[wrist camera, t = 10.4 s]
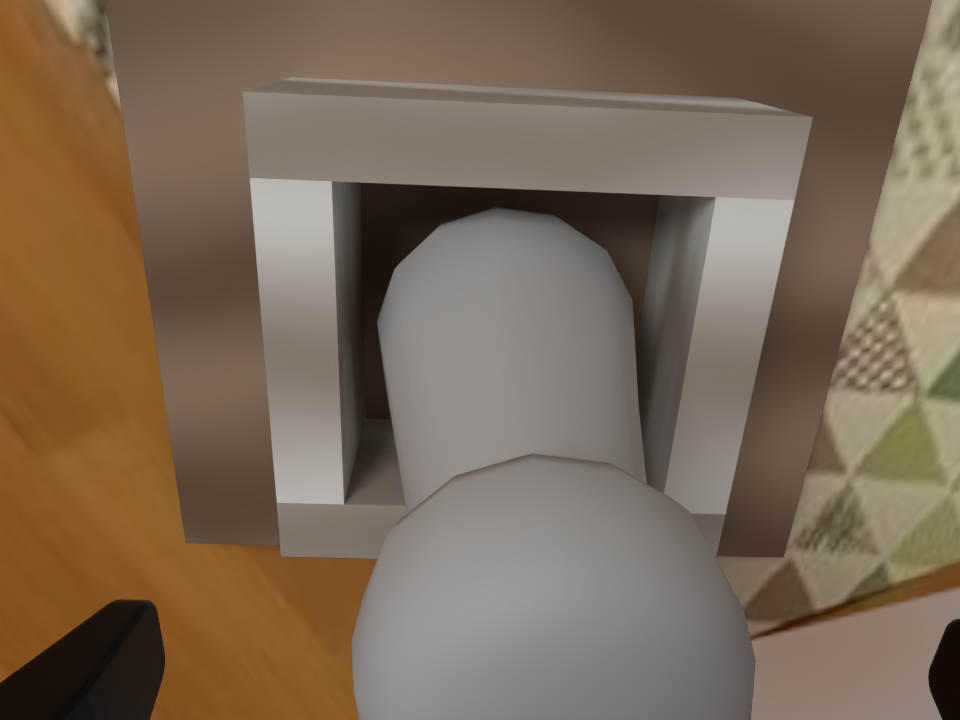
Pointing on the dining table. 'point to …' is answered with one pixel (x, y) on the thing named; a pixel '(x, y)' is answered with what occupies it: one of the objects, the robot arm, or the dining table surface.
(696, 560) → the salt shaker
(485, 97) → the socket board
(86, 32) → the dining table surface
